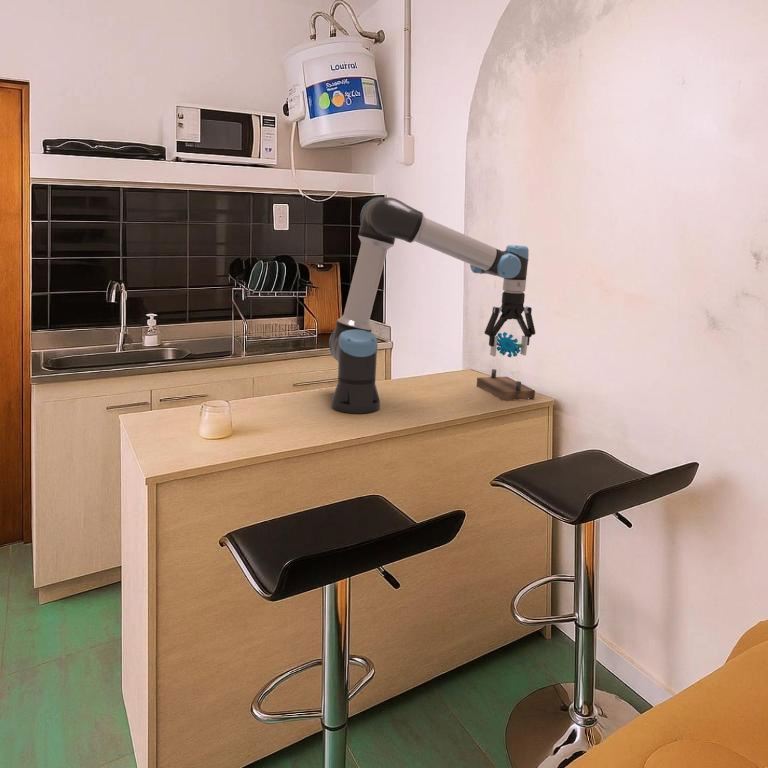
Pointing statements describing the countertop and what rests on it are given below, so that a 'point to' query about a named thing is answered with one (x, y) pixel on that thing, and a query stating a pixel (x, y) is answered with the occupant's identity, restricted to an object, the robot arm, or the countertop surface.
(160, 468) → the countertop surface
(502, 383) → the stand
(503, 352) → the blue spiky virus toy
